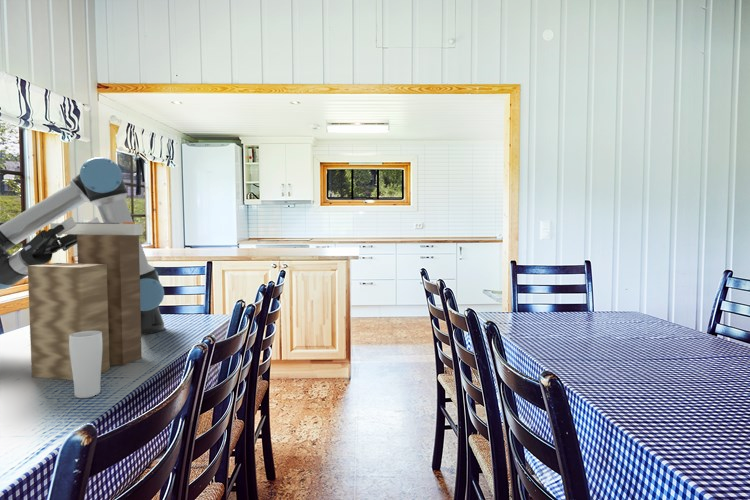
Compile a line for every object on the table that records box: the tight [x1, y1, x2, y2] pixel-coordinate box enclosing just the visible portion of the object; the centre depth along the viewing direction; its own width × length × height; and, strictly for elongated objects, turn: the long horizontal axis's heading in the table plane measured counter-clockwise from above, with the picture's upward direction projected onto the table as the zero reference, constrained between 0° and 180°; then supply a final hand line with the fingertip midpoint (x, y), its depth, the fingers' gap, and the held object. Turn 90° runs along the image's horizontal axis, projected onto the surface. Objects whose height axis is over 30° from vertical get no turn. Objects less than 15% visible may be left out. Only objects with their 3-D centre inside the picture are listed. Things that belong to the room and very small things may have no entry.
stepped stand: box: [27, 234, 143, 381], centre depth 129 cm, size 17×21×38 cm
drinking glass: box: [69, 331, 103, 399], centre depth 108 cm, size 7×7×15 cm
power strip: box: [49, 221, 143, 236], centre depth 134 cm, size 28×4×4 cm, turn 80°
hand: (86, 221), depth 135 cm, fingers open, 9 cm apart
